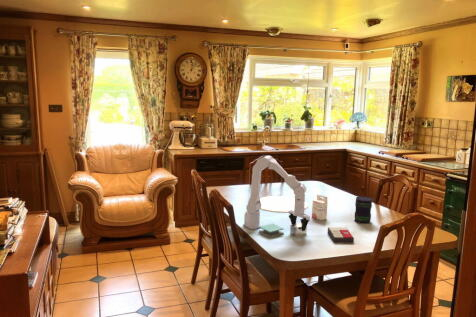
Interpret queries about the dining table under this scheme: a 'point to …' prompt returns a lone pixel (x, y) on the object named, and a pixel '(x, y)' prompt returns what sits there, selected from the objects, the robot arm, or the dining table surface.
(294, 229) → the block
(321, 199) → the ink cartridge box
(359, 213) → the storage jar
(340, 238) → the calculator
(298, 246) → the dining table surface
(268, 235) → the stand
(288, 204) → the lazy susan
